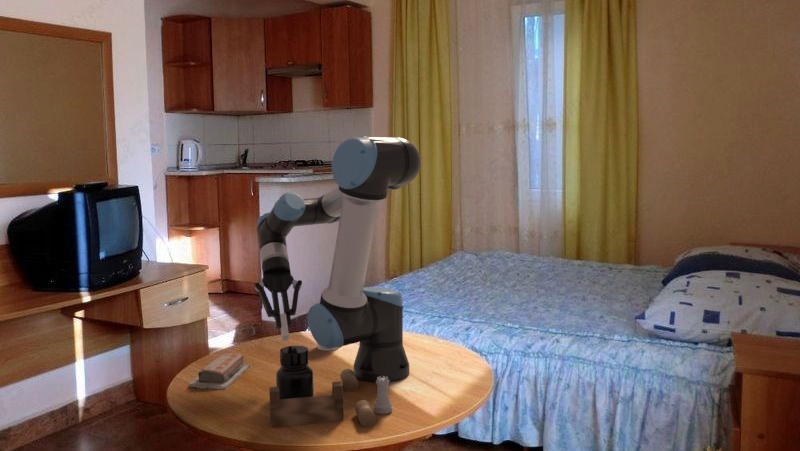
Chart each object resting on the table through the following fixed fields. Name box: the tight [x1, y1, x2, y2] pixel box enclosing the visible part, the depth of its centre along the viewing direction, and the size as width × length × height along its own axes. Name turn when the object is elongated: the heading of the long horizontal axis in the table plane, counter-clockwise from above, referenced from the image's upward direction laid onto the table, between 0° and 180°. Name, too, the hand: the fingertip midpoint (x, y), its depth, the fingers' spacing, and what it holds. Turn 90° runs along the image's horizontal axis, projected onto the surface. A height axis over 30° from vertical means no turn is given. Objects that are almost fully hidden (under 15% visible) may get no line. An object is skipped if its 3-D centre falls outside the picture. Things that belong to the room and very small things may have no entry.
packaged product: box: [188, 352, 251, 390], centre depth 181 cm, size 18×5×10 cm
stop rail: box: [268, 380, 345, 428], centre depth 151 cm, size 16×3×8 cm, turn 103°
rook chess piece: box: [372, 376, 393, 415], centre depth 156 cm, size 4×4×8 cm
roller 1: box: [339, 368, 359, 392], centre depth 173 cm, size 7×4×4 cm, turn 13°
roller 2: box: [354, 399, 377, 428], centre depth 151 cm, size 7×4×4 cm, turn 13°
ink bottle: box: [275, 345, 315, 400], centre depth 165 cm, size 10×9×12 cm
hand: (285, 338), depth 174 cm, fingers closed
